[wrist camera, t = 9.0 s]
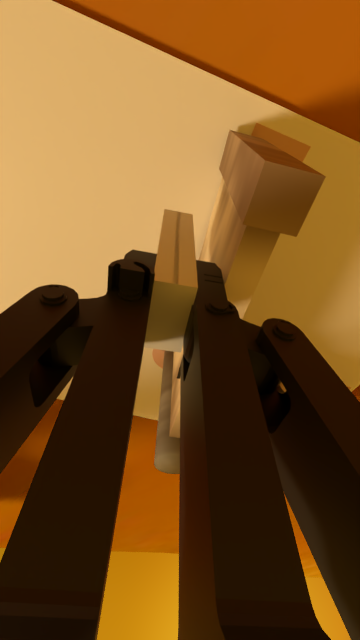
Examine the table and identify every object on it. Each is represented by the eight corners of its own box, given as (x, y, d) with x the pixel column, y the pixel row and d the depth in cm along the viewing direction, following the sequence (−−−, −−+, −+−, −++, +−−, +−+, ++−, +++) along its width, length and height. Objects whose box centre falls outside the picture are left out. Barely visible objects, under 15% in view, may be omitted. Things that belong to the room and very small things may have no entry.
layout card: (287, 445, 34) (288, 449, 34) (-23, 377, 28) (-26, 381, 28) (532, 222, 18) (539, 225, 18) (-77, -59, 12) (-85, -63, 11)
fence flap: (191, 349, 24) (193, 449, 17) (170, 345, 24) (163, 445, 17) (263, 138, 15) (325, 176, 8) (229, 129, 15) (265, 160, 8)
